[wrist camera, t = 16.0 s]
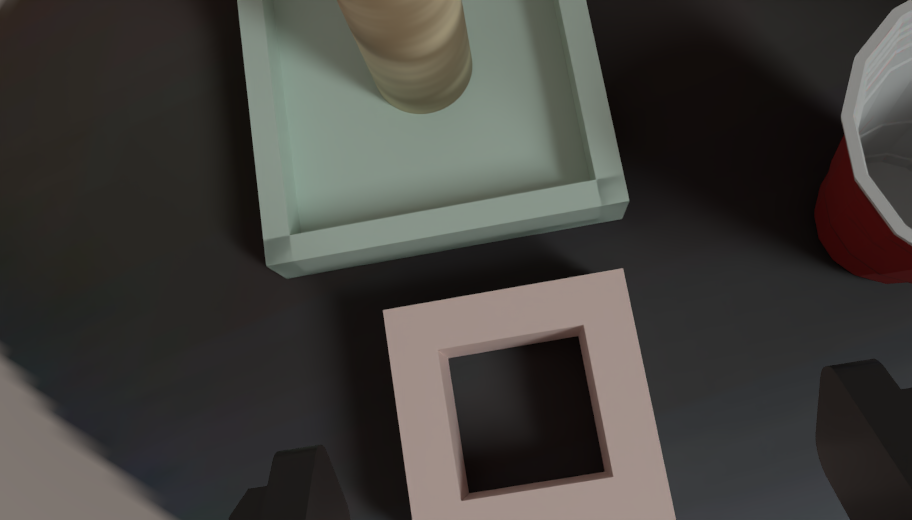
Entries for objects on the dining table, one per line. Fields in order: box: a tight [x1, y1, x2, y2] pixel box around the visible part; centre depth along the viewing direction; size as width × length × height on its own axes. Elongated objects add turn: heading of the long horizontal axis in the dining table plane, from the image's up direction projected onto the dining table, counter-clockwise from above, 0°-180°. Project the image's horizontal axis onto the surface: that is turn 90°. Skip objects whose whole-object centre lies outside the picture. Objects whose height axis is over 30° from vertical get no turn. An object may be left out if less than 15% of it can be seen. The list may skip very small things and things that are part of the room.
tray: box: [237, 0, 629, 279], centre depth 38 cm, size 16×18×3 cm
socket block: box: [383, 268, 676, 520], centre depth 34 cm, size 10×10×4 cm
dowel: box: [337, 0, 472, 114], centre depth 33 cm, size 5×5×12 cm
